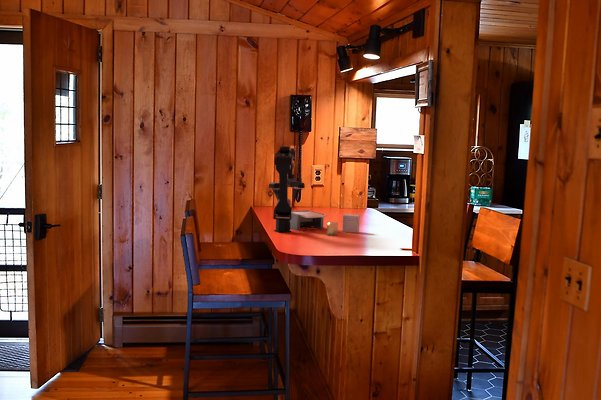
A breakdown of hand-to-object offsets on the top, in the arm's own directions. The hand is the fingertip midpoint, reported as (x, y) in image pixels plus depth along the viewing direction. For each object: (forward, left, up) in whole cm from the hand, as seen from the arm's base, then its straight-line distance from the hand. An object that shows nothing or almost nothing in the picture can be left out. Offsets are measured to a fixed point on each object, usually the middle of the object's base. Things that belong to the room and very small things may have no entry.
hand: (286, 201), depth 344 cm
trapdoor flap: (+7, -10, -10) cm, 16 cm away
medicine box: (+23, -26, -13) cm, 37 cm away
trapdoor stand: (+7, -6, -13) cm, 16 cm away
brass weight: (+8, -31, -13) cm, 35 cm away
